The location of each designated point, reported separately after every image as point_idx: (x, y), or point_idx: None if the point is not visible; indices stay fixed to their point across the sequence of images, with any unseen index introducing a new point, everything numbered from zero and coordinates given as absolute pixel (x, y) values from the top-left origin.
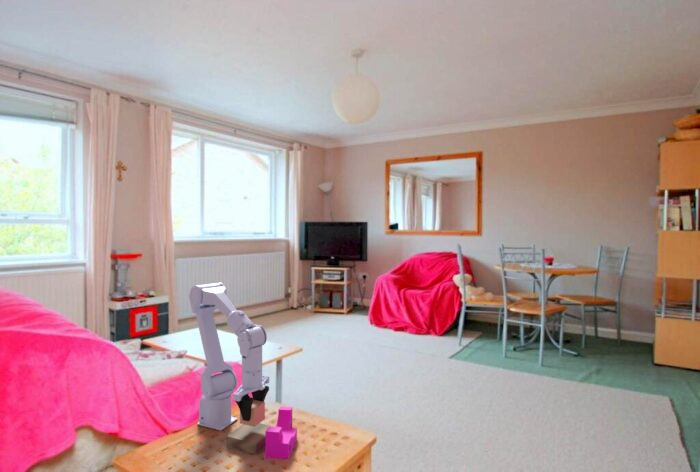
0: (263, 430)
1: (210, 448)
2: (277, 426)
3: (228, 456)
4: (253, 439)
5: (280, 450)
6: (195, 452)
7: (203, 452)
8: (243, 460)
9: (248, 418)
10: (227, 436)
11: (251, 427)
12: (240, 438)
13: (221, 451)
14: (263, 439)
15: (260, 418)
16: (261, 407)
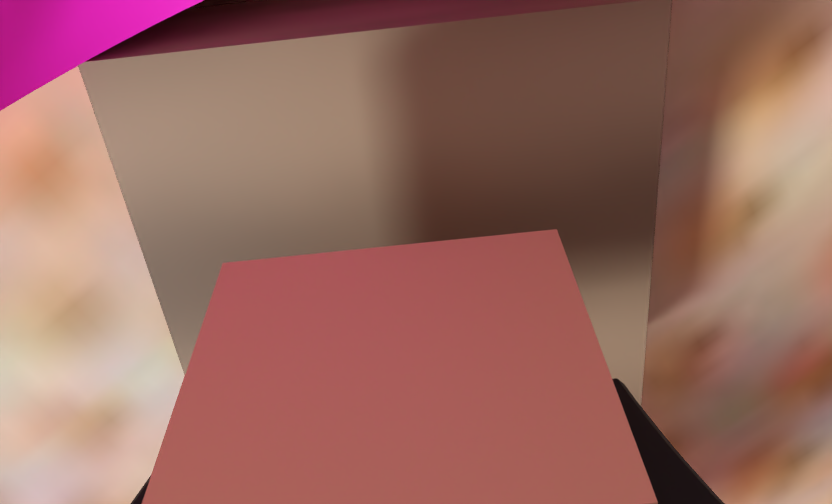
0: (287, 168)
1: (691, 433)
2: (66, 41)
3: (765, 217)
4: (575, 121)
5: None
6: (790, 478)
7: (770, 434)
8: (793, 15)
9: (643, 415)
10: None
11: None
12: (621, 282)
13: (703, 330)
14: (459, 13)
15: (364, 291)
16: (311, 463)
